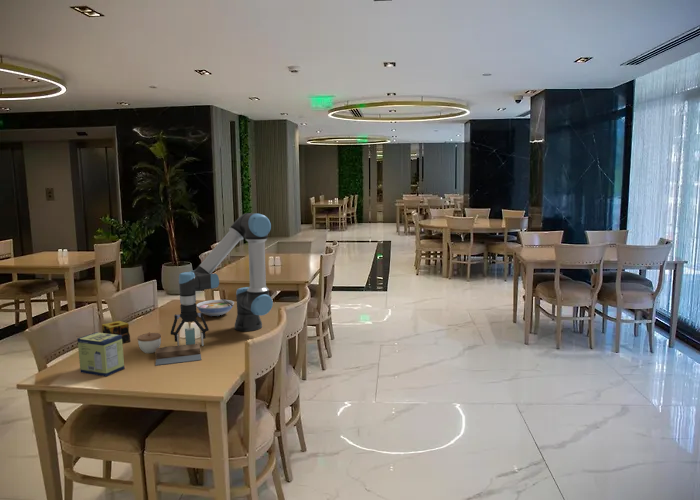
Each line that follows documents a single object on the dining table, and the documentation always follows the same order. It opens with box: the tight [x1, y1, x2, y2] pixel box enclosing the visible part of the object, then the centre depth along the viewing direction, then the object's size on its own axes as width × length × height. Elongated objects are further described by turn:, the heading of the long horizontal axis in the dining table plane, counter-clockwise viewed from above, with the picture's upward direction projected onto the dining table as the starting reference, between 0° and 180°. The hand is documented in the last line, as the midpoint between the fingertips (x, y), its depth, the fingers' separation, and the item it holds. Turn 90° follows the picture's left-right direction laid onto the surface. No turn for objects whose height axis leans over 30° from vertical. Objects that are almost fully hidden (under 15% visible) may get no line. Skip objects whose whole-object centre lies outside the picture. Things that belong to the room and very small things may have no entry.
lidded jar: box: [137, 332, 162, 354], centre depth 257 cm, size 11×11×9 cm
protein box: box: [77, 331, 125, 378], centre depth 231 cm, size 10×16×16 cm
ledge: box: [155, 343, 201, 360], centre depth 252 cm, size 20×8×3 cm, turn 109°
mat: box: [155, 353, 202, 367], centre depth 244 cm, size 20×8×1 cm, turn 109°
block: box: [184, 327, 196, 345], centre depth 263 cm, size 4×4×9 cm
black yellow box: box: [101, 320, 131, 345], centre depth 272 cm, size 10×10×10 cm
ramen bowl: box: [196, 297, 235, 317], centre depth 325 cm, size 25×23×8 cm
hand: (190, 346), depth 264 cm, fingers open, 11 cm apart
